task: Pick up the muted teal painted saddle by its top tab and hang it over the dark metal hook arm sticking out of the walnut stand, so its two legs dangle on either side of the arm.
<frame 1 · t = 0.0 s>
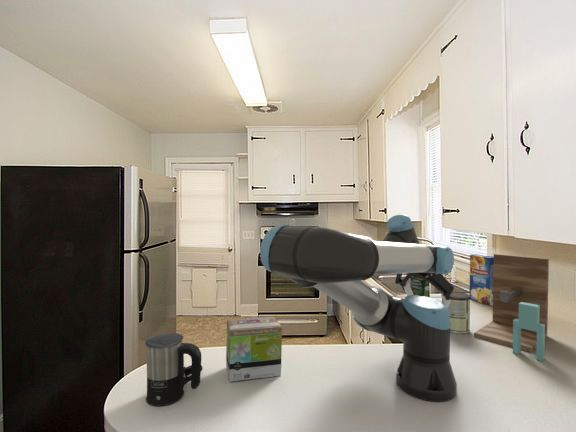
hand: (428, 300, 119), 15 cm above the worktop, tool tilted 35°, fingers open, 13 cm apart
hook arm: (511, 292, 125), point 17 cm above the worktop
juice carton: (484, 302, 173), on the worktop
coffee jar: (419, 304, 169), on the worktop
milk frother: (175, 389, 88), on the worktop
coffee can: (455, 329, 133), on the worktop
hook stand: (510, 336, 126), on the worktop
tea box: (253, 372, 98), on the worktop
saddle: (528, 355, 109), on the worktop
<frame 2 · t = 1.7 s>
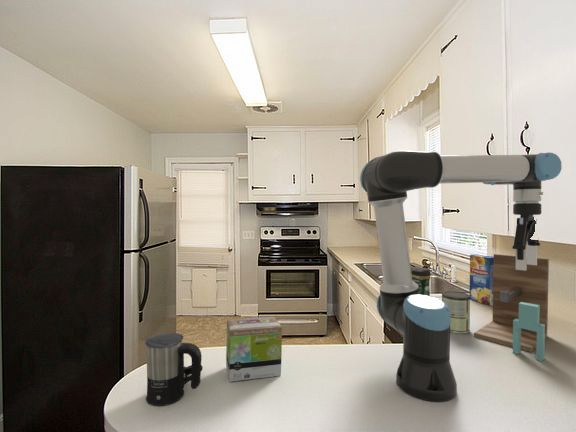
hand: (526, 267, 109), 29 cm above the worktop, tool pointing down, fingers open, 13 cm apart
nothing on the worktop moved.
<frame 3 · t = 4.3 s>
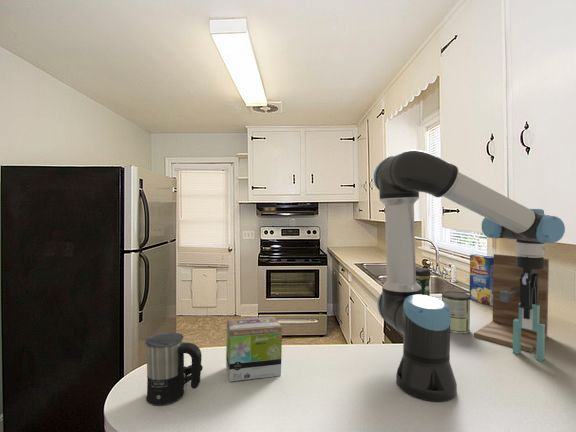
hand: (528, 326, 109), 10 cm above the worktop, tool pointing down, fingers closed on saddle, 3 cm apart
saddle: (528, 355, 109), on the worktop, touching gripper
everything else where it was.
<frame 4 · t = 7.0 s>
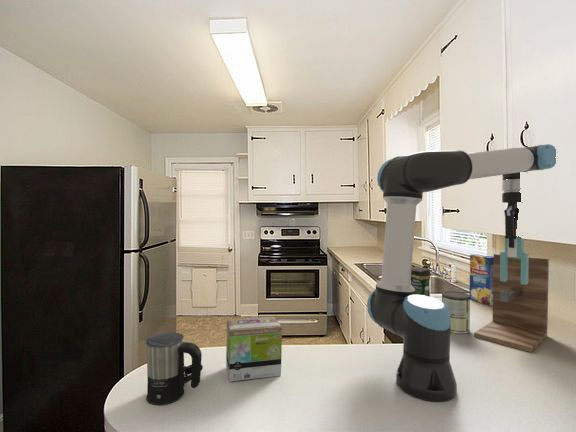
hand: (513, 256, 120), 31 cm above the worktop, tool pointing down, fingers closed on saddle, 3 cm apart
saddle: (513, 282, 121), point 22 cm above the worktop, touching gripper
everything else where it was.
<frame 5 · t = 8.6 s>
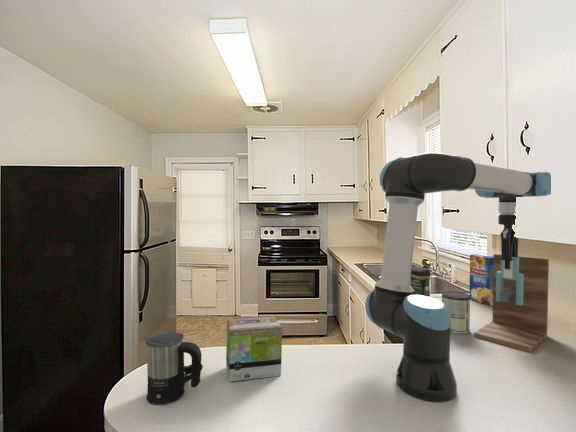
hand: (509, 277, 123), 23 cm above the worktop, tool pointing down, fingers closed on saddle, 3 cm apart
saddle: (509, 302, 123), point 13 cm above the worktop, touching gripper
everything else where it was.
when the fingers open (20 cm above the worktop, at t = 9.8 s): saddle drops 2 cm, resting on hook arm.
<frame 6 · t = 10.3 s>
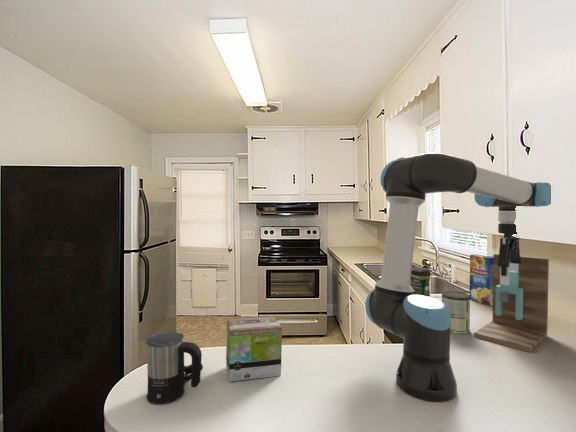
hand: (509, 282, 123), 21 cm above the worktop, tool pointing down, fingers open, 10 cm apart
saddle: (508, 316, 123), point 8 cm above the worktop, touching hook arm
everything else where it was.
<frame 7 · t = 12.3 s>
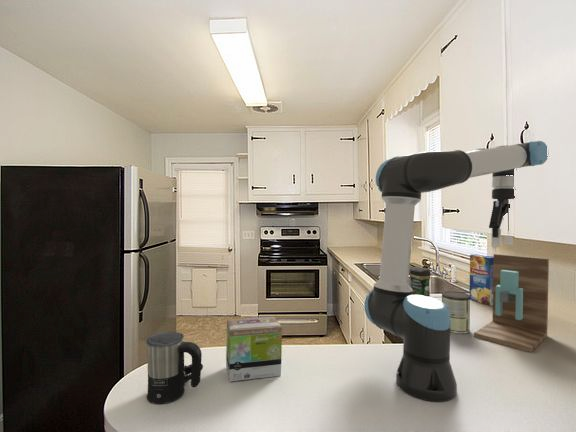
hand: (502, 245, 123), 35 cm above the worktop, tool pointing down, fingers open, 13 cm apart
nothing on the worktop moved.
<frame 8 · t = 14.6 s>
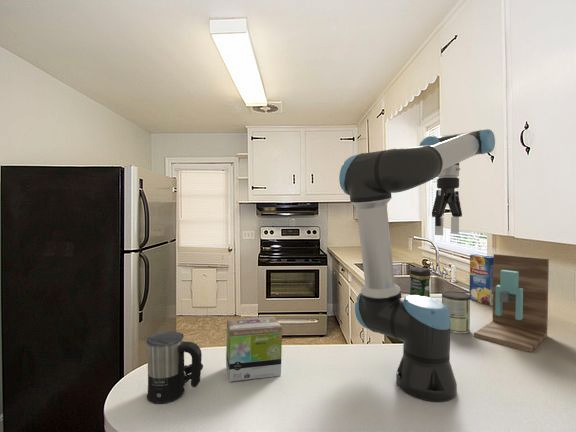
hand: (447, 234, 124), 39 cm above the worktop, tool pointing down, fingers open, 13 cm apart
at the end: saddle 0.0 cm from the target spot on the hook arm, point 8.2 cm above the hook arm's base; saddle touching hook arm; saddle tilted 0° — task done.
